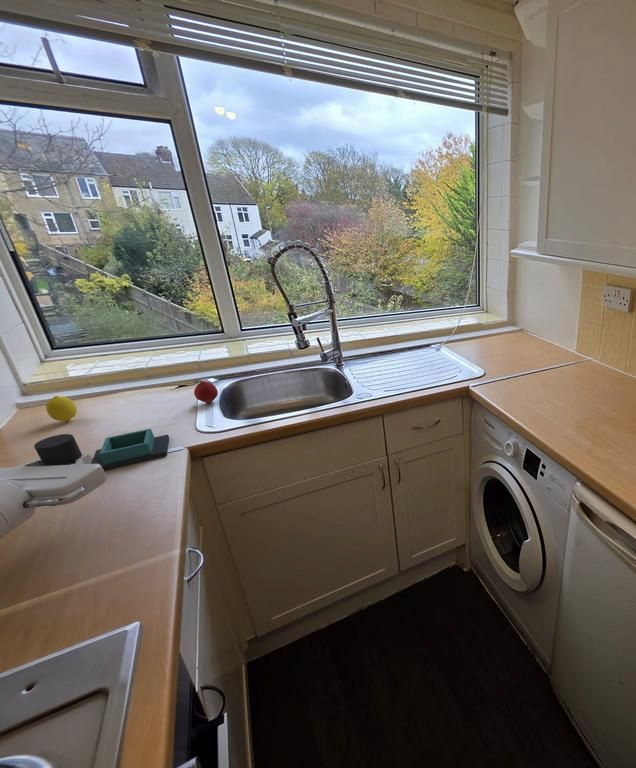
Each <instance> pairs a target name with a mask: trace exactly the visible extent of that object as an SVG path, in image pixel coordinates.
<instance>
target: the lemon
mask: <svg viewBox="0 0 636 768" xmlns="http://www.w3.org/2000/svg"><path fill="white" fill-rule="evenodd" d="M45 411H46V412H47V415H48V416H49V417H50V418H51V419H53V420H55V421H59V422H65V423H67V422H70V421H71V419H74V417H75V416H76V415H77V413H78V409H77V405H76V404H75V402H74V401H73V400H72V399H70V398H69V397H66V396H61V395H60V396H58V395H54V396H53V397H52V398H50V399H49V400H48V401H47V402H46V405H45Z"/></svg>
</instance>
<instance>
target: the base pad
mask: <svg viewBox="0 0 636 768" xmlns="http://www.w3.org/2000/svg"><path fill="white" fill-rule="evenodd" d="M169 443H170V436H169V434H164V435H163V434H162V435H159V436H158V435H157V436H154V433H153V430H152V428H146V429H141V430H136V431H130V432H126V433H123V434H122V433H121V434H117V435H113V436H108V437H106V438H105V439H104V442H103V445H102V447H101V448H99V449H96V450H95V453H94V455H93V457H92V462H91V463H90V464H100V465H101V467H102V468H103V470H104V472H105V471H109V470H114V469H118V468H123V467H126V466H131V465H134V464H138V463H142V462H143V463H144V462H147V461H152V460H155V459H159V458H164V457H167V456H168V452H169Z"/></svg>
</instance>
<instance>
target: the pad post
mask: <svg viewBox="0 0 636 768" xmlns="http://www.w3.org/2000/svg"><path fill="white" fill-rule="evenodd" d="M33 447H34V449H35V452H36V453H37V455H38V458H40V459H41V461H42V463H43V465H44V466H54V465H70V464H75V462H74V461H73V459H74V458H76V457H78V456H79V455H83V454H82V452H81V449H80V447H79V444H78V442H77V441H76V438H75V436H74V435H73V434H70V433H62V434H56V435H52V436H48V437H46V438H43V439H41V440H39V441H37V442H36V443H35V444H34V445H33Z"/></svg>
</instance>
